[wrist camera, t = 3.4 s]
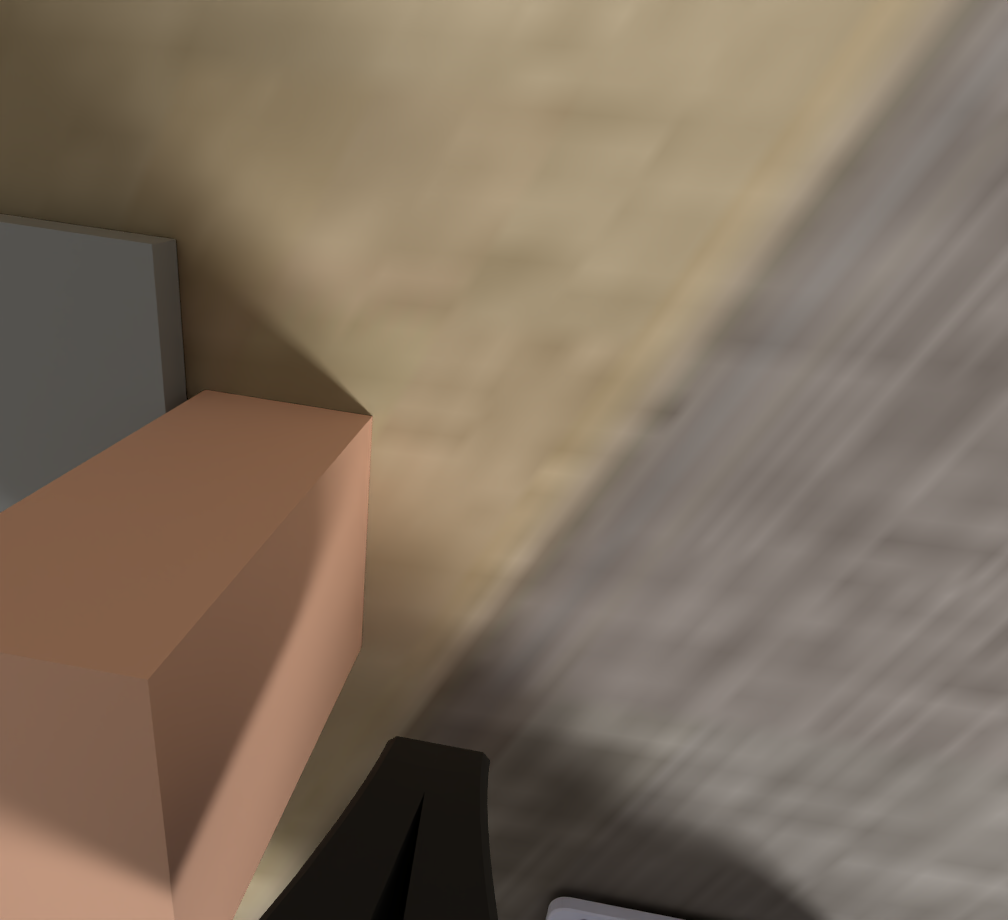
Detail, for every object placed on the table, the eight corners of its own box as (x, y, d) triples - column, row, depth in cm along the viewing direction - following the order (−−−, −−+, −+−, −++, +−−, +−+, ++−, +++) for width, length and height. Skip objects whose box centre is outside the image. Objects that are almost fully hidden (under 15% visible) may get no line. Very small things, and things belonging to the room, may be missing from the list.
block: (372, 416, 14) (147, 680, 7) (361, 647, 17) (184, 1018, 10) (205, 389, 15) (-178, 620, 7) (218, 622, 17) (-60, 966, 10)
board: (175, 239, 13) (152, 243, 13) (208, 712, 18) (192, 735, 18) (-210, 183, 14) (-254, 184, 13) (-78, 659, 19) (-105, 679, 18)
